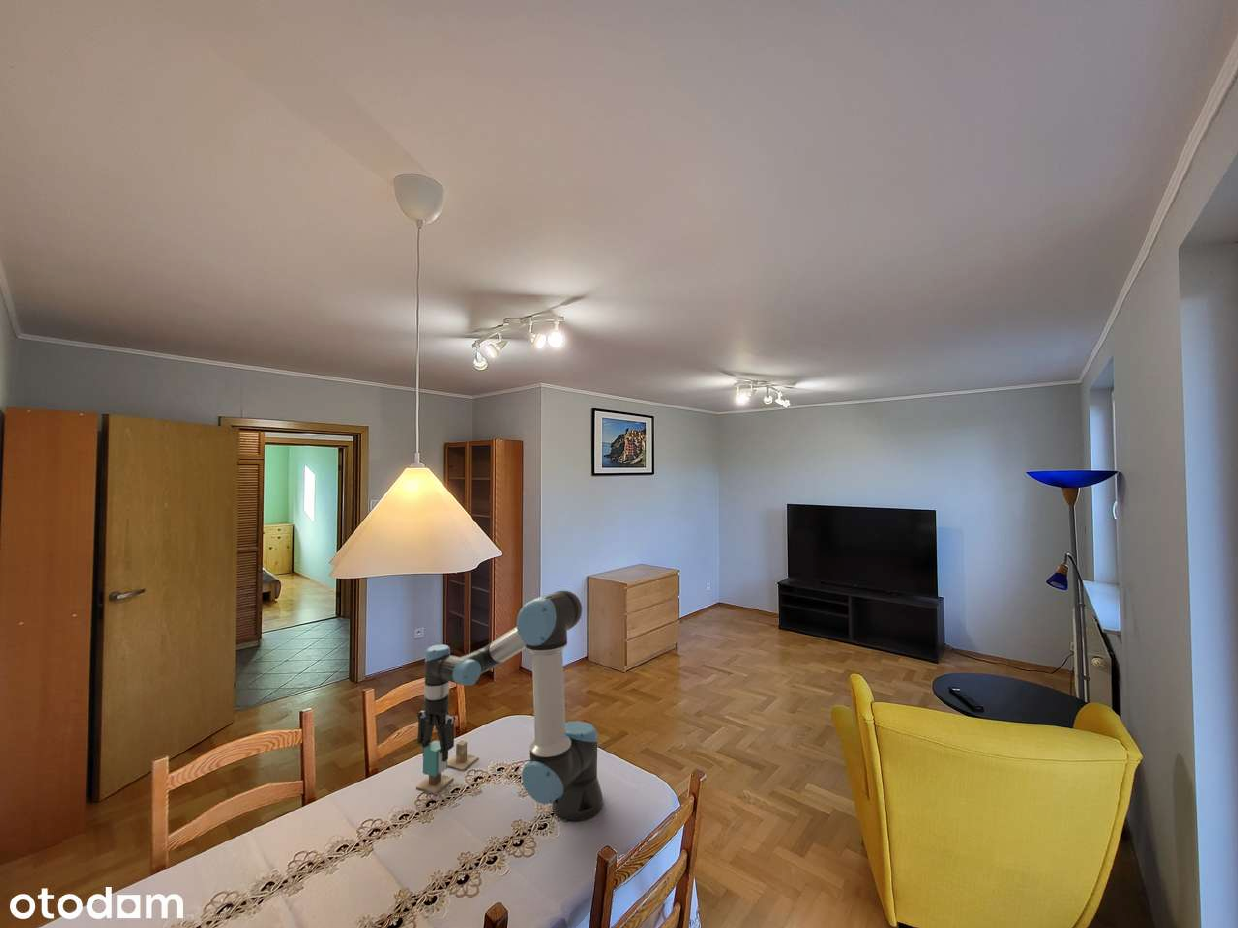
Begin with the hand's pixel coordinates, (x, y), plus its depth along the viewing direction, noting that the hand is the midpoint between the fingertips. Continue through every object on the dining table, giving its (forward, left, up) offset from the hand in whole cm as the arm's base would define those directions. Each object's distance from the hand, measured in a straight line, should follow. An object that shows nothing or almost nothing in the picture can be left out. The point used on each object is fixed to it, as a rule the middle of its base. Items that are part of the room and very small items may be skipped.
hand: (434, 768), depth 154 cm
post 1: (0, 0, -5) cm, 5 cm away
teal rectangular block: (0, 0, -1) cm, 1 cm away
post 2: (0, -13, -5) cm, 14 cm away
